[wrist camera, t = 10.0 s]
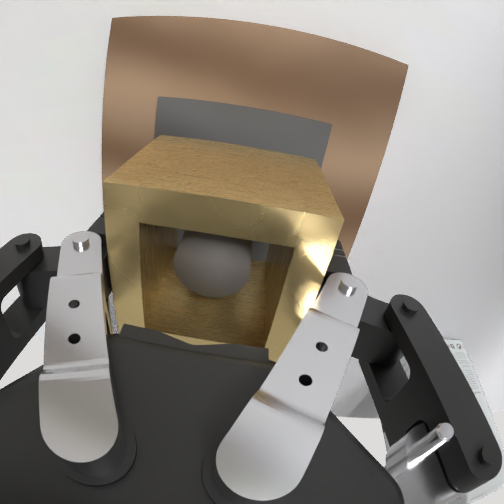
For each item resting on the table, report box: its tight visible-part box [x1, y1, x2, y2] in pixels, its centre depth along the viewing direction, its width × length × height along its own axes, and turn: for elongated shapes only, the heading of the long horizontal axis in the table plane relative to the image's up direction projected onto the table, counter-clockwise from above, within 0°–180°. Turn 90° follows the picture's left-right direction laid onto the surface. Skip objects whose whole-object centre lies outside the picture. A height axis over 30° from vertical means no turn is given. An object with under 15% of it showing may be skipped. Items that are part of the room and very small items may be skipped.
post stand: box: [102, 16, 408, 297], centre depth 13 cm, size 16×14×8 cm
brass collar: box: [103, 135, 344, 362], centre depth 11 cm, size 6×6×5 cm
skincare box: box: [381, 339, 504, 504], centre depth 19 cm, size 8×6×15 cm
